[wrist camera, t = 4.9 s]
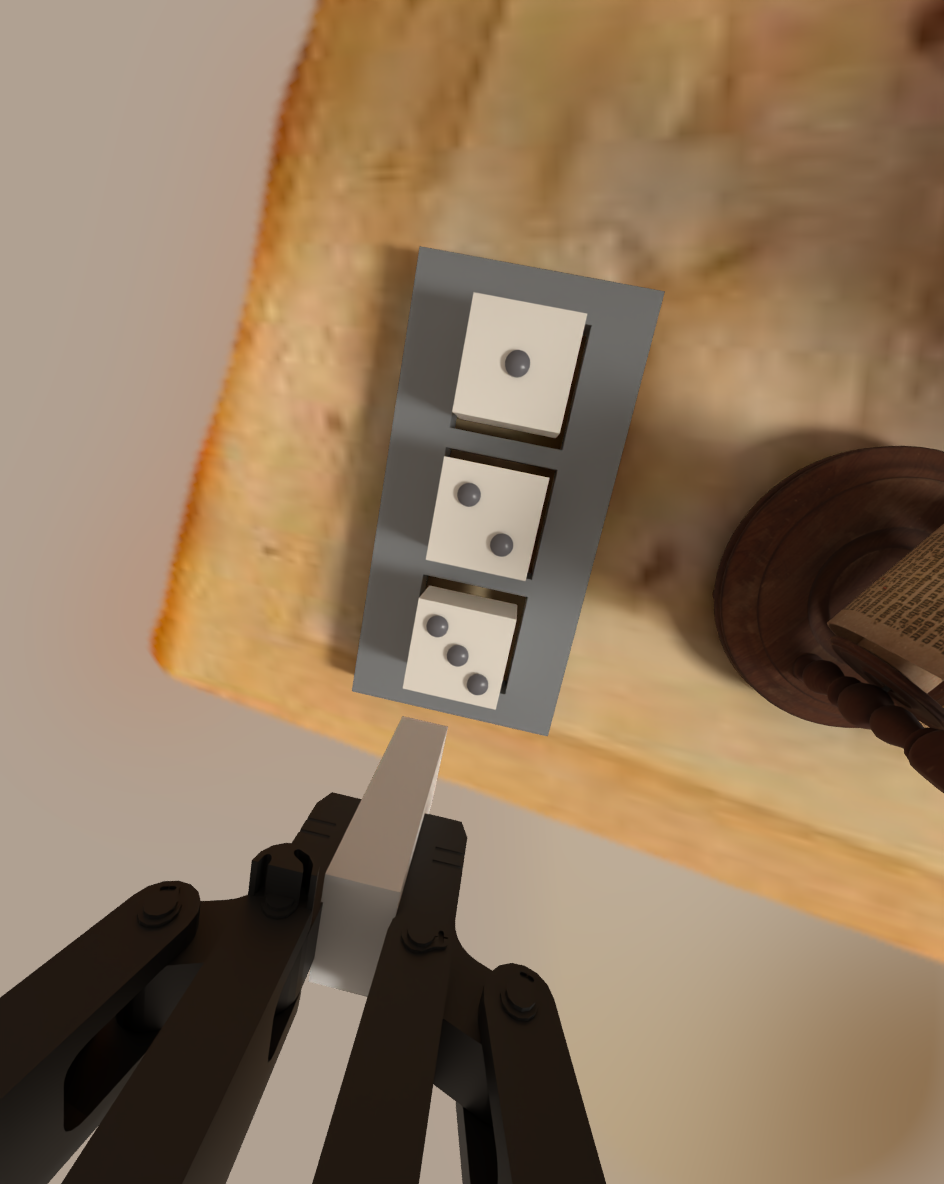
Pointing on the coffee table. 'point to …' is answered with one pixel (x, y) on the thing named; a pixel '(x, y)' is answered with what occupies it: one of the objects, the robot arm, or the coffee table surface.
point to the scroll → (846, 597)
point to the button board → (429, 434)
